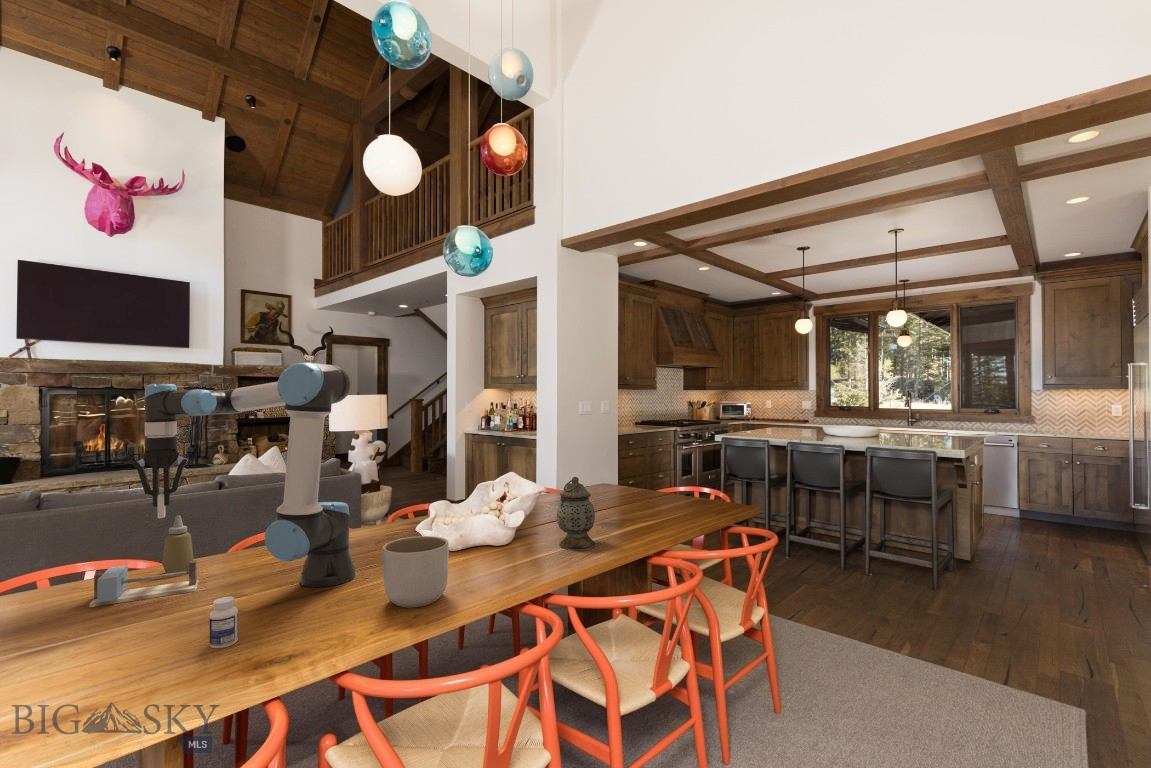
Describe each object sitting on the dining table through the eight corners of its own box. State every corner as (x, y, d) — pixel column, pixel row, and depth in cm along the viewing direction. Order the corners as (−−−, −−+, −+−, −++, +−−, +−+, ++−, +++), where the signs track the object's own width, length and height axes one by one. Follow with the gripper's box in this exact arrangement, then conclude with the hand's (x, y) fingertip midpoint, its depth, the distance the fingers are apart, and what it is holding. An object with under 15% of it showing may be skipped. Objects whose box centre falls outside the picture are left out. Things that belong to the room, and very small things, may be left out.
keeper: (127, 586, 155) (127, 565, 155) (116, 599, 145) (116, 577, 145) (109, 588, 153) (109, 567, 153) (97, 602, 143) (97, 579, 143)
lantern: (596, 550, 190) (595, 479, 191) (556, 551, 190) (555, 479, 191) (595, 540, 204) (594, 473, 205) (557, 540, 204) (557, 474, 205)
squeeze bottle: (176, 578, 166) (177, 519, 167) (155, 576, 168) (155, 518, 168) (200, 569, 174) (200, 513, 175) (179, 568, 176) (179, 512, 176)
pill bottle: (218, 638, 124) (218, 595, 124) (242, 637, 124) (242, 594, 124) (204, 649, 118) (204, 604, 118) (229, 648, 119) (230, 603, 119)
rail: (198, 582, 162) (198, 557, 162) (195, 591, 155) (195, 564, 155) (98, 597, 150) (98, 570, 151) (89, 607, 143) (89, 578, 144)
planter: (388, 618, 134) (387, 556, 134) (378, 596, 149) (378, 540, 149) (456, 605, 141) (455, 547, 142) (440, 585, 157) (440, 533, 157)
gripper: (189, 434, 165) (190, 512, 165) (135, 437, 159) (135, 517, 158) (186, 435, 159) (187, 516, 158) (130, 438, 152) (130, 522, 152)
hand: (161, 517), depth 158 cm, fingers closed
